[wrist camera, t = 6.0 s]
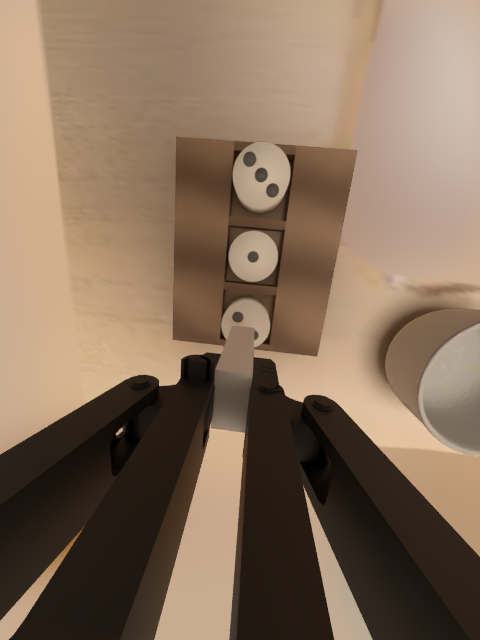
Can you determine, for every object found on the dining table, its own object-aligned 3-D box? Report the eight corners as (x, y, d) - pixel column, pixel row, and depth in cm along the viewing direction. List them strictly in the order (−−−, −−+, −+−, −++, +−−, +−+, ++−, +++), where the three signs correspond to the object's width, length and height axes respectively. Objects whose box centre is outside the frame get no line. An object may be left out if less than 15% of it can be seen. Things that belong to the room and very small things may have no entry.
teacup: (359, 390, 25) (404, 448, 18) (385, 292, 23) (450, 310, 15) (492, 406, 25) (598, 473, 17) (536, 307, 22) (686, 334, 14)
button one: (234, 232, 21) (230, 228, 18) (278, 236, 21) (281, 233, 18) (230, 276, 22) (226, 279, 19) (272, 281, 22) (274, 284, 19)
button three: (238, 156, 18) (235, 139, 16) (289, 160, 18) (294, 143, 16) (234, 211, 19) (230, 204, 17) (282, 215, 19) (286, 208, 17)
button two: (227, 294, 21) (223, 299, 19) (271, 299, 21) (273, 305, 18) (224, 335, 22) (219, 346, 20) (265, 340, 22) (266, 351, 19)
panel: (186, 150, 21) (176, 137, 18) (345, 163, 20) (357, 150, 18) (180, 331, 25) (172, 339, 23) (311, 346, 25) (317, 356, 22)
